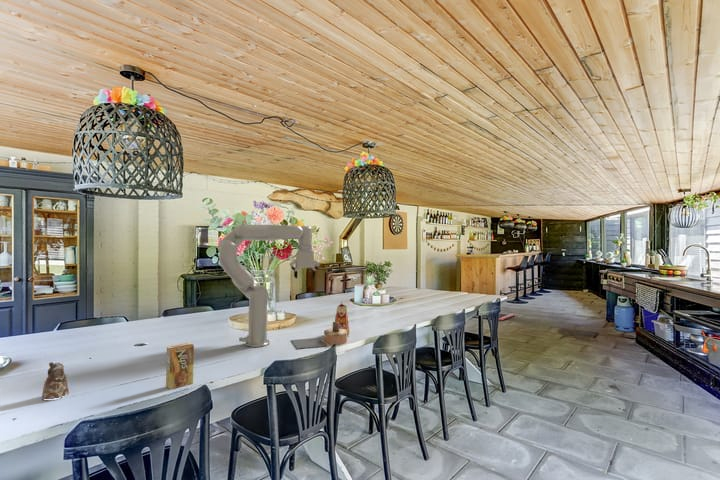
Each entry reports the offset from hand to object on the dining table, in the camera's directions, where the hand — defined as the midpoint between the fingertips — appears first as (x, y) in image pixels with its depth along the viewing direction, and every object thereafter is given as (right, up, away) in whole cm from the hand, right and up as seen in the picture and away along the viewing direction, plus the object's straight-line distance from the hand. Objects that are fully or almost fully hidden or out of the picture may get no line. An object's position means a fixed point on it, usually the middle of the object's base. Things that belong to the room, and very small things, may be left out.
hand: (304, 277), depth 213 cm
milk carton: (+21, -35, +10) cm, 41 cm away
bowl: (+18, -35, -6) cm, 40 cm away
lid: (+18, -30, -6) cm, 35 cm away
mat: (+4, -34, -11) cm, 36 cm away
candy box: (-38, -35, -69) cm, 86 cm away
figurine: (-76, -34, -81) cm, 116 cm away
